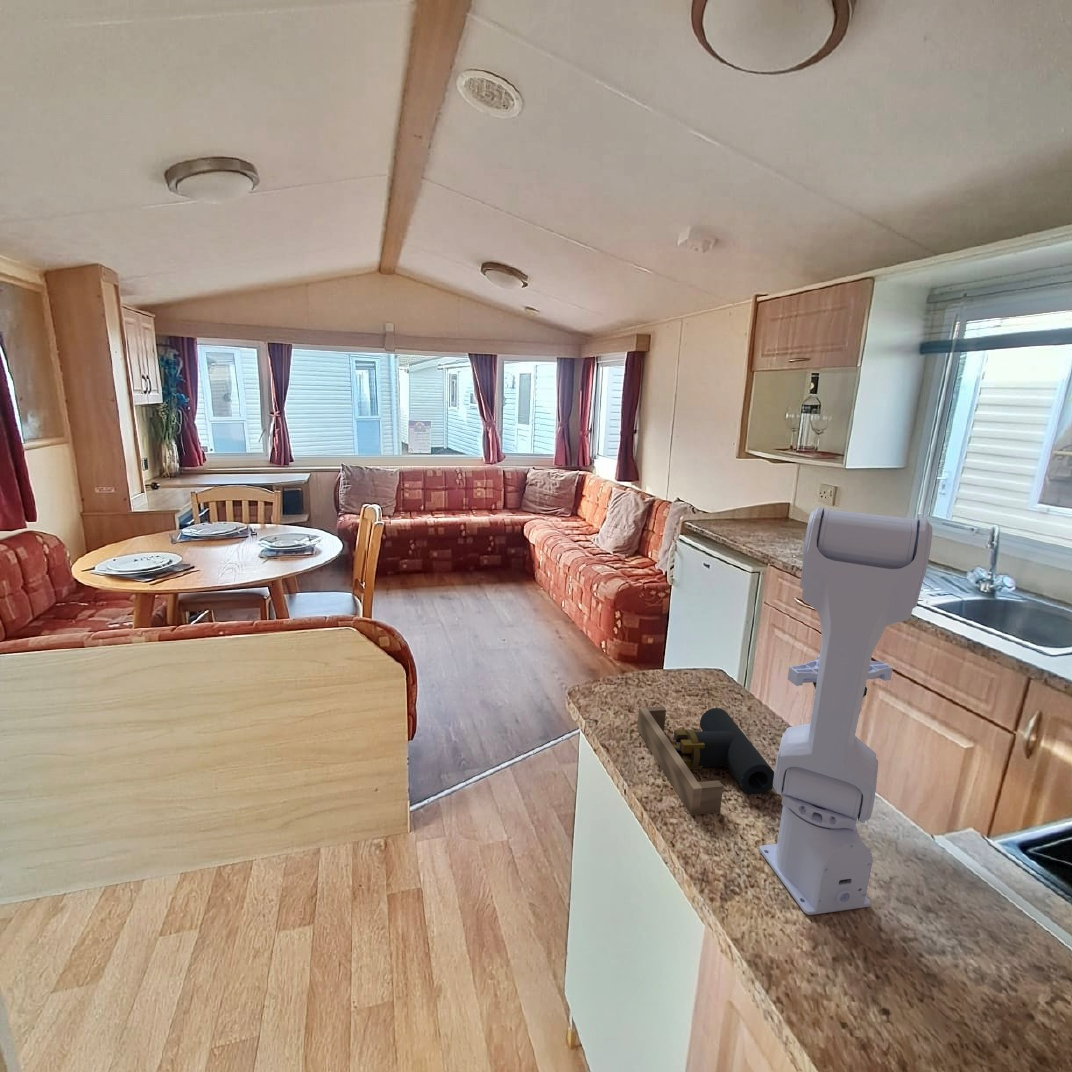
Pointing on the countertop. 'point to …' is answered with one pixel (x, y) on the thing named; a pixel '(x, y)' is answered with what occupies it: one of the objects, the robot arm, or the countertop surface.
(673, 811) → the countertop surface
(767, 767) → the pipe connector
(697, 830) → the countertop surface
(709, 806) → the stop rail
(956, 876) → the countertop surface
